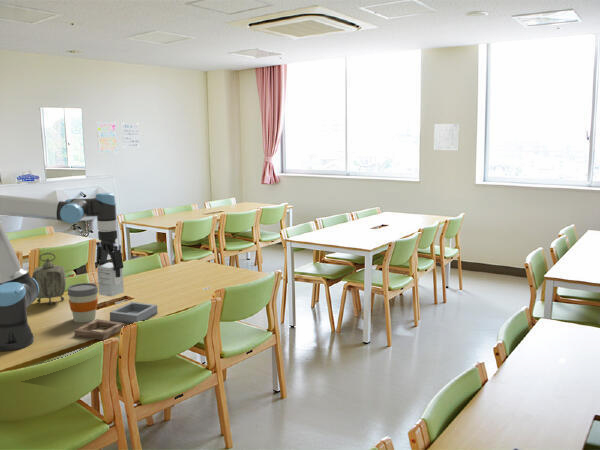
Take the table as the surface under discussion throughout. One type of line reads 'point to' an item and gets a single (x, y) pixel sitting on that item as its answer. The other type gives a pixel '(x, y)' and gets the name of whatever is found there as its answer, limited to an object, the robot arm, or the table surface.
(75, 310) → the reusable coffee cup
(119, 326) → the walnut collar
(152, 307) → the grey tray
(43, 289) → the tabletop clock
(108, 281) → the supplement box
